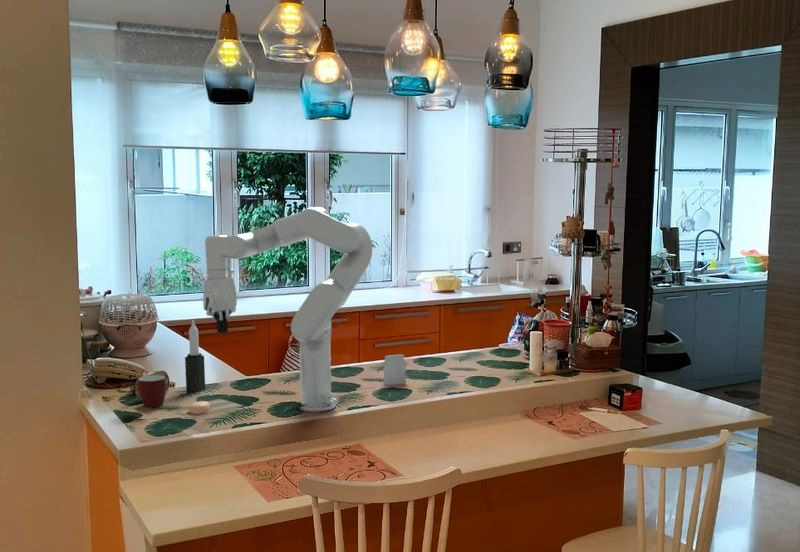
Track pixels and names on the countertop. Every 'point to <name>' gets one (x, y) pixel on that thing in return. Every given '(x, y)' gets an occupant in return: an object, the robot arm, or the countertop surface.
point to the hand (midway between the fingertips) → (222, 332)
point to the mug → (152, 390)
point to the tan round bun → (199, 407)
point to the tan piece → (212, 408)
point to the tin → (150, 375)
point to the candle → (194, 364)
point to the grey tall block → (394, 370)
